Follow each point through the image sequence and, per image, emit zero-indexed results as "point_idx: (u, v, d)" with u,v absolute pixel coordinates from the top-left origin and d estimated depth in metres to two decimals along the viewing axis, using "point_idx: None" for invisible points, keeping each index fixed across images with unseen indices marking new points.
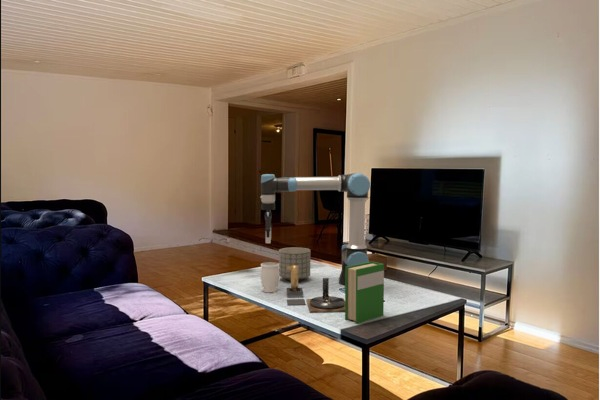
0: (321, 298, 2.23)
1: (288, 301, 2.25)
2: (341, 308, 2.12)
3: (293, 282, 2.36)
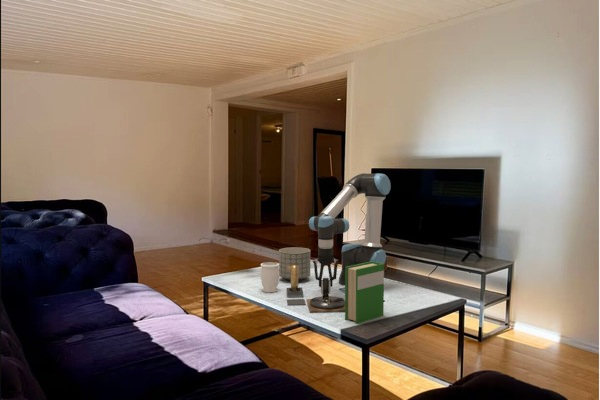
0: (321, 298, 2.23)
1: (288, 301, 2.25)
2: (341, 308, 2.12)
3: (293, 282, 2.36)
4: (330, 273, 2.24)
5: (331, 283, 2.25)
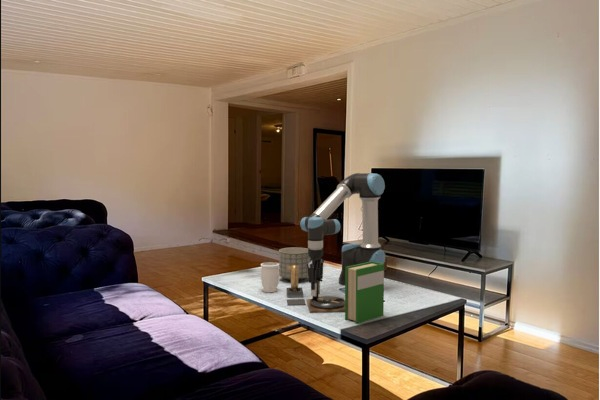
0: (317, 300, 2.19)
1: (288, 301, 2.25)
2: (341, 308, 2.12)
3: (293, 282, 2.36)
4: (319, 273, 2.23)
5: (319, 283, 2.24)
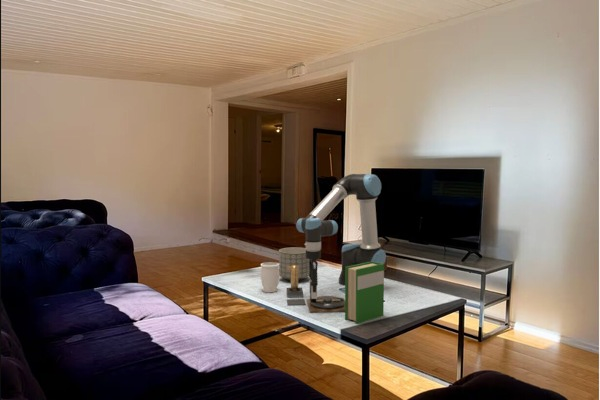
0: (319, 302, 2.16)
1: (288, 301, 2.25)
2: (341, 308, 2.12)
3: (293, 282, 2.36)
4: None
5: None
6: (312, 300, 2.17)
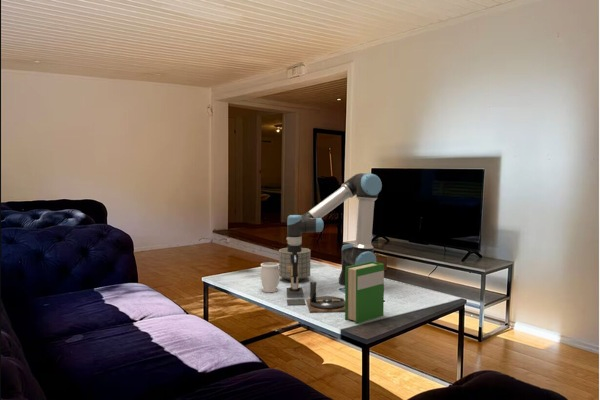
0: (319, 302, 2.16)
1: (288, 301, 2.25)
2: (341, 308, 2.12)
3: None
4: None
5: None
6: (312, 300, 2.17)
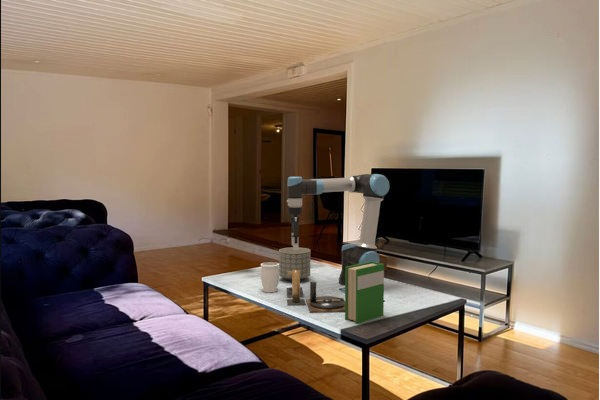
0: (319, 302, 2.16)
1: (288, 301, 2.25)
2: (341, 308, 2.12)
3: (294, 288, 2.23)
4: None
5: None
6: (312, 300, 2.17)
